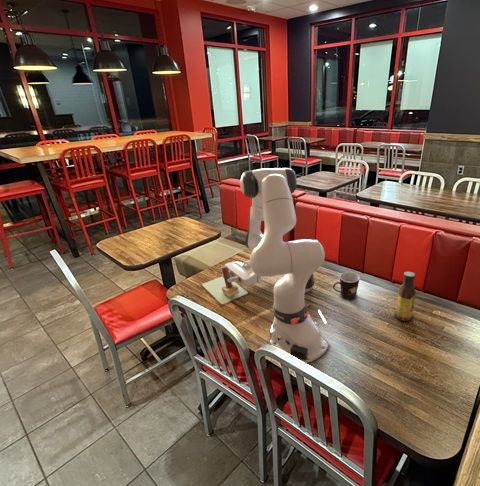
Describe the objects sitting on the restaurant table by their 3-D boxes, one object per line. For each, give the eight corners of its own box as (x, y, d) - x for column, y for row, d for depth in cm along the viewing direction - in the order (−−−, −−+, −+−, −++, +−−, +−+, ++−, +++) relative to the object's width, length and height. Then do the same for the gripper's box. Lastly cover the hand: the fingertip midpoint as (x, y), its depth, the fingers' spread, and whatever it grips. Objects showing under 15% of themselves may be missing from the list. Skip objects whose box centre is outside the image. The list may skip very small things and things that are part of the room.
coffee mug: (356, 290, 144) (358, 272, 140) (359, 301, 136) (361, 282, 132) (331, 290, 145) (332, 271, 141) (332, 301, 137) (333, 282, 133)
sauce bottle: (413, 322, 122) (420, 279, 114) (396, 321, 124) (402, 278, 115) (410, 312, 128) (417, 270, 120) (394, 311, 129) (400, 269, 121)
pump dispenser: (315, 295, 142) (315, 266, 135) (292, 296, 142) (292, 267, 136) (313, 283, 151) (313, 255, 145) (292, 284, 152) (291, 256, 145)
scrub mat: (248, 294, 146) (248, 293, 145) (221, 305, 138) (221, 304, 138) (226, 275, 162) (226, 274, 162) (201, 285, 155) (201, 284, 154)
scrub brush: (239, 293, 143) (232, 266, 140) (229, 297, 140) (222, 270, 137) (232, 289, 149) (226, 263, 145) (222, 293, 146) (216, 267, 143)
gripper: (239, 256, 156) (214, 264, 148) (262, 271, 141) (235, 281, 133) (240, 267, 158) (215, 275, 151) (262, 283, 143) (237, 293, 136)
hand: (225, 278), depth 142 cm, fingers closed on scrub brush, 3 cm apart
